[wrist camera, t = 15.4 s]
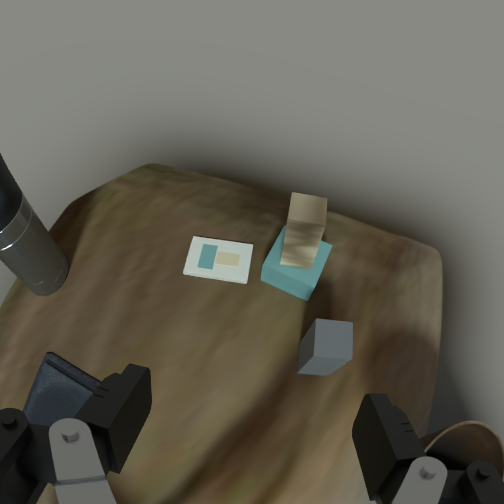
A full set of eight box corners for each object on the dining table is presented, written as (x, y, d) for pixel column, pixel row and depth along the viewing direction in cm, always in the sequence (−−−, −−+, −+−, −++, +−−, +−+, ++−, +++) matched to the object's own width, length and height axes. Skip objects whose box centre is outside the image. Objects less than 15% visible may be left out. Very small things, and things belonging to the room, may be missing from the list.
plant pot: (435, 425, 36) (506, 409, 23) (431, 510, 28) (499, 521, 14) (348, 436, 36) (405, 433, 22) (341, 529, 28) (392, 565, 14)
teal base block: (260, 280, 49) (262, 264, 45) (280, 243, 53) (284, 224, 49) (307, 302, 47) (314, 287, 43) (324, 262, 51) (332, 245, 47)
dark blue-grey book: (45, 346, 38) (123, 394, 36) (50, 349, 40) (127, 396, 38) (2, 447, 28) (76, 506, 26) (9, 448, 30) (82, 504, 28)
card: (183, 274, 48) (182, 272, 48) (193, 237, 52) (193, 235, 52) (246, 284, 48) (247, 282, 48) (253, 246, 52) (253, 244, 51)
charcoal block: (296, 373, 41) (313, 356, 32) (299, 343, 43) (316, 318, 35) (327, 375, 41) (352, 359, 32) (329, 346, 43) (352, 322, 35)
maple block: (279, 264, 45) (287, 218, 36) (284, 239, 47) (292, 192, 39) (310, 269, 44) (325, 225, 36) (313, 244, 47) (327, 198, 38)
